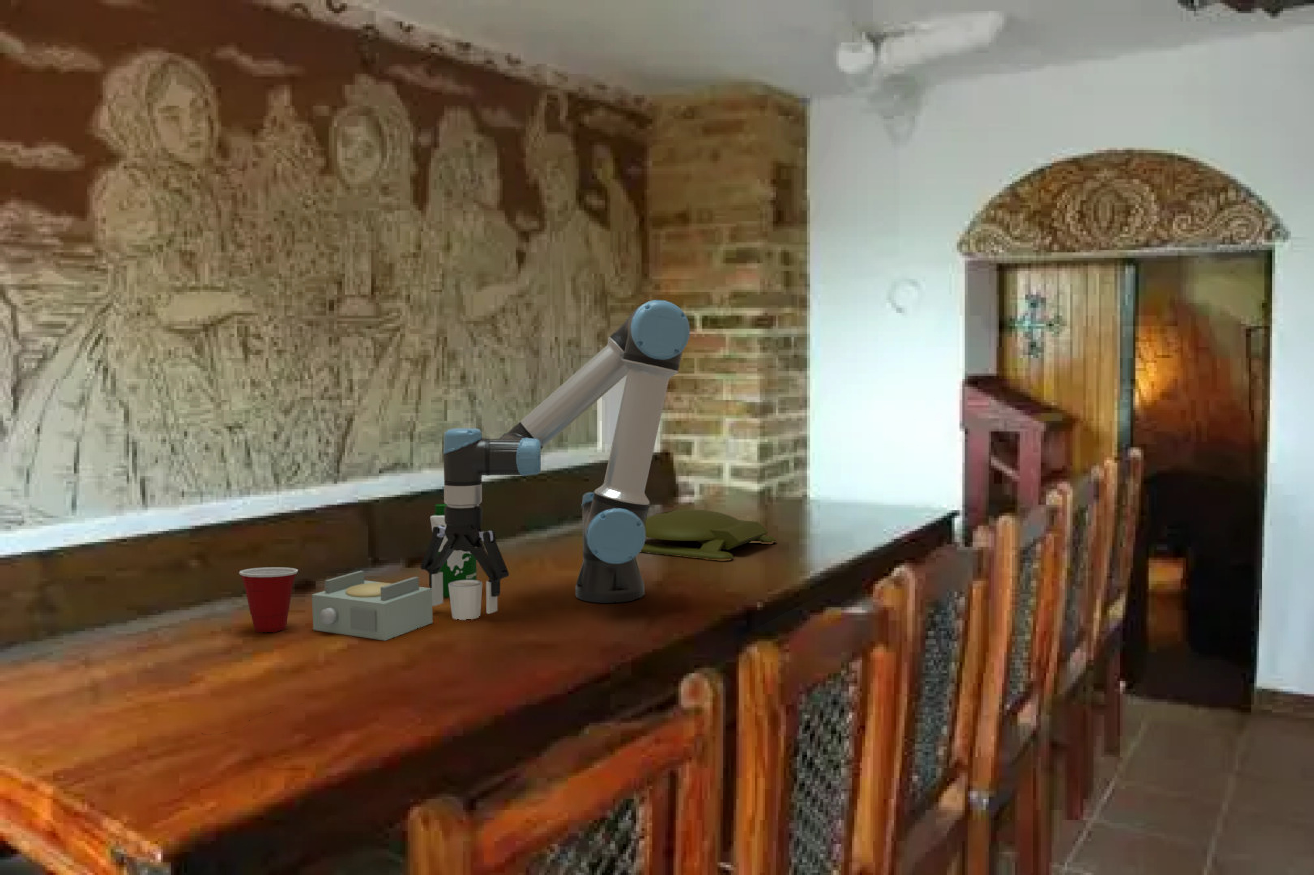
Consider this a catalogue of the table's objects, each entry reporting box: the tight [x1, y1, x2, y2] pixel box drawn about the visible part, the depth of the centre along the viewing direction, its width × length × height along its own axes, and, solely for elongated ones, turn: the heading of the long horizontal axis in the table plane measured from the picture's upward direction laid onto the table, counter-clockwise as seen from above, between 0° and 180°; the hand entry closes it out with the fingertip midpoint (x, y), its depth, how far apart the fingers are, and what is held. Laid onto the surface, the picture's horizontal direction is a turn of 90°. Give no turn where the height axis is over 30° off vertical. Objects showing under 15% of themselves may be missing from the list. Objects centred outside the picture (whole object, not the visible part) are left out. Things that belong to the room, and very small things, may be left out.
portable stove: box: [311, 570, 433, 641], centre depth 209 cm, size 18×16×10 cm
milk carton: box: [429, 503, 478, 598], centre depth 236 cm, size 9×9×20 cm
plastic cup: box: [238, 566, 299, 633], centre depth 208 cm, size 11×11×12 cm
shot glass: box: [448, 579, 483, 621], centre depth 217 cm, size 7×7×7 cm
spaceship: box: [641, 509, 777, 560], centre depth 289 cm, size 35×31×10 cm
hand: (464, 608), depth 217 cm, fingers open, 13 cm apart
